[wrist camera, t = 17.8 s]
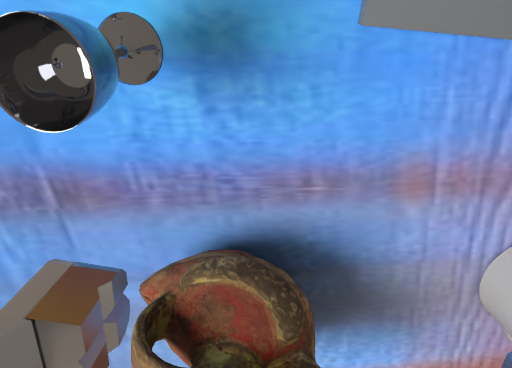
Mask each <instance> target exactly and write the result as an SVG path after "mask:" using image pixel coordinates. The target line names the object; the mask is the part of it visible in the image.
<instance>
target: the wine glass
mask: <svg viewBox="0 0 512 368" xmlns="http://www.w3.org/2000/svg"><path fill="white" fill-rule="evenodd" d="M162 56H163V55H162V46H161V42H160V39H159V37H158V35H157V33H156V31H155V30H154V29H153V27H152V26H151V25H150V24H149V23H148V22H147V21H146V20H145V19H143V18H142V17H140V16H138V15H136V14H133V13H129V12H118V13H114V14H112V15H110V16H108V17H107V18H105V19H104V20H103V21H102V22H101V24H100V26H99V27H98V29H97V28H96V27H94V26H93V25H91V24H90V23H88V22H86V21H84V20H81V19H79V18H76V17H74V16H71V15H67V14H63V13H58V12H54V11H35V10H29V11H17V12H11V13H7V14H5V15H2V16H0V106H1V107H2V108H3V109H4V110H5V111H6V112H7V113H8V114H9V115H10V116H12V117H13V118H14V119H15V120H17V121H18V122H20V123H22V124H24V125H25V126H28V127H30V128H32V129H35V130H39V131H43V132H53V133H54V132H63V131H66V130H69V129H72V128H74V127H76V126H78V125H79V124H81V123H83V122H85V121H87V120H88V119H90V118H91V117H93V116H94V115H95V114H97V113H98V112H99V111H100V110H101V109H102V108H103V107H104V106H105V105H106V104H107V103H108V101H109V100H110V98H111V97H112V96H113V94H114V92H115V90H116V88H117V85H118V81H119V82H122V83H124V84H128V85H141V84H144V83H146V82H148V81H150V80H151V79H152V78H154V77H155V75H156V74H157V73H158V71H159V69H160V66H161V63H162Z"/></svg>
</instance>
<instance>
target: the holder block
mask: <svg viewBox="0 0 512 368" xmlns="http://www.w3.org/2000/svg"><path fill="white" fill-rule="evenodd" d="M358 24H360V25H364V26H374V27H385V28H395V29H406V30H416V31H427V32H437V33H448V34H458V35H469V36H479V37H490V38H500V39H511V40H512V0H362V5H361V10H360V15H359V21H358Z"/></svg>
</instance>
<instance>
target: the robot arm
mask: <svg viewBox="0 0 512 368" xmlns="http://www.w3.org/2000/svg"><path fill="white" fill-rule="evenodd" d="M127 285H128V282H127V274H126V272H125V271H124V270H123V269H118V268H112V267H105V266H99V265H93V264H87V263H81V262H77V263H76V262H71V261H65V260H59V259H54V260H51V261H48V262H47V263H46V264H45V265H44V266H43V267H42V268H41V269H40V270H39V271H38V272H37V273H36V274H35V275H34V276H33V277H32V278H31V279H30V280H29V281H28V282H27V283H26V284H25V285H24V286H23V287H22V288H21V289H20V290H19V292H18V293H17V294H16V295H15V296H14V297H13V298H12V299H11V300H10V301H9V302H8V303H7V304H6V305H5V306H4V307H3V308H2V309H1V310H0V368H107V367H108V366H109V360H108V353H109V352H110V351H112V350H113V349H115V348H116V347H118V346H119V345H120V343H121V341H122V339H123V337H124V335H125V332H126V328H127V325H128V322H129V315H130V302H129V299H128V298H127V297H126V296H125V295H124V294H123V292H124V290H125V288H126V287H127ZM479 293H480V299H481V302H482V304H483V306H484V308H485V309H486V311H487V312H488V313H489V314H490V315H491V316H492V317H493V318H495V319H496V320H497V321H498V322H499V323H500V325H501V326H502V327H503V330H504V332H505V334H506V336H507V337H508V338H509V340H510V341H511V342H512V247H510V248H508V249H507V250H505V251H504V252H503V253H501V254H500V255H499V256H498V257H497V258H496V259H495V260H494V261H493V262H492V263H491V264H490V265H489V266H488V268H487V269H486V271H485V273H484V275H483V277H482V279H481V283H480V289H479ZM502 368H512V352H510V353H508V354H507V356H506V358H505V360H504V362H503V365H502Z"/></svg>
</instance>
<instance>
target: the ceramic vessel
mask: <svg viewBox="0 0 512 368" xmlns="http://www.w3.org/2000/svg"><path fill="white" fill-rule="evenodd" d="M139 292H140V294H141V296H142V297H143V299H144V300H145V302H146V303H147V305H148V306H147V307H146V308H145V309H144V310H143V311H142V312H141V314H140V315H139V317H138V319H137V321H136V323H135V325H134V328H133V333H132V340H131V362H132V368H184V367H178V366H174V365H172V364H170V363H167V362H165V361H163V360H162V359H161V358H159V357H158V356H157V355H156V354H155V353H153V352H152V347H153V345H154V343H155V342H156V341H158V340H162V339H165V340H166V341H167V343H168V345H169V346H170V348H171V350H172V351H173V352H174V353H176V354H177V355H178V356H179V357H180V358H181V359H182V360H183V361H184V362H185V363H186V364H187V365H188V366H189V367H190V368H320V367H319V366H318V364H317V363H316V360H315V328H314V320H313V315H312V311H311V308H310V305H309V302H308V299H307V297H306V296H305V294H304V292H303V291H302V289H301V288H300V286H299V285H298V284H297V283H296V282H295V281H294V280H293V279H292V278H291V277H290V276H289V275H288V274H287V273H286V272H285V271H283V270H282V269H281V268H279V267H277V266H276V265H274V264H272V263H270V262H268V261H266V260H263V259H261V258H258V257H256V256H254V255H252V254H250V253H248V252H245V251H240V250H230V249H225V250H211V251H210V250H208V251H205V252H202V253H199V254H197V255H194V256H191V257H187V258H184V259H182V260H179V261H177V262H174V263H172V264H170V265H168V266H166V267H164V268H163V269H161V270H159V271H157V272H156V273H154V274H152V275H151V276H150V277H149V278H147V279H146V280H145V281H144V282H143V283H142V284H141V285H140V290H139Z"/></svg>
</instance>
